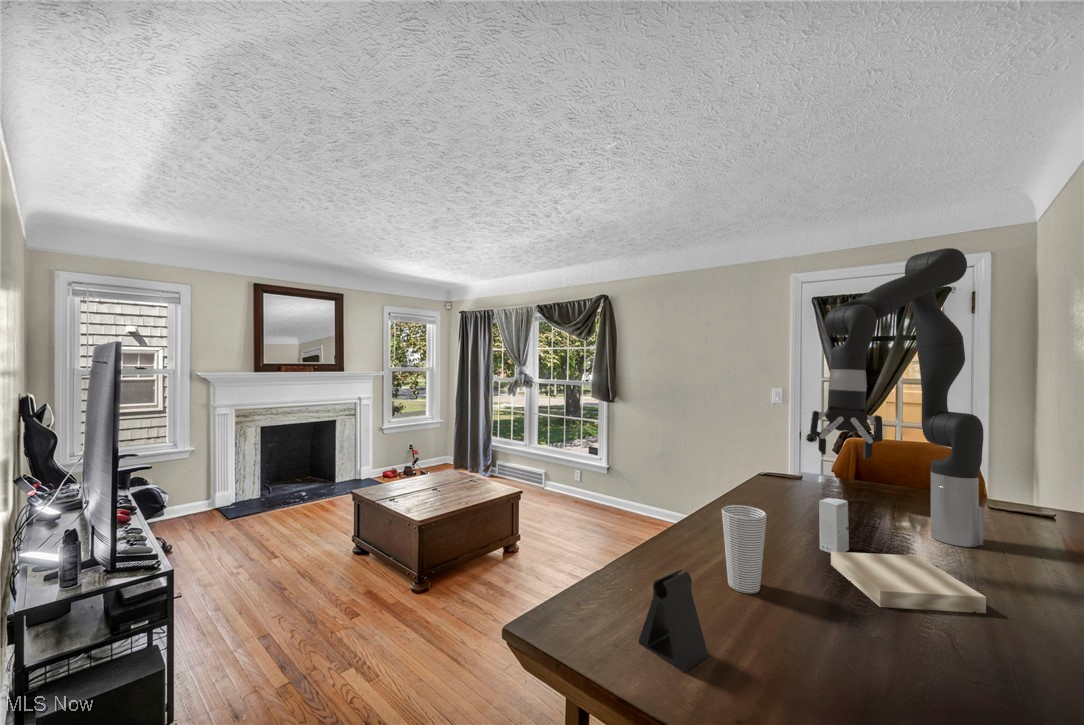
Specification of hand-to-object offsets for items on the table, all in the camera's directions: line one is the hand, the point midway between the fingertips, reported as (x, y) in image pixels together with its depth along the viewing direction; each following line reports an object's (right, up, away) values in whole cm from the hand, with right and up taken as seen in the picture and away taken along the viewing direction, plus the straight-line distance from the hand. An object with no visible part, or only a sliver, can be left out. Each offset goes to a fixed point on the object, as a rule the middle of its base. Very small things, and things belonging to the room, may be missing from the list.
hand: (844, 456), depth 108 cm
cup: (-31, -24, -15) cm, 42 cm away
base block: (+1, -24, -15) cm, 28 cm away
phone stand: (-51, -24, -36) cm, 67 cm away
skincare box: (0, -24, +3) cm, 24 cm away
